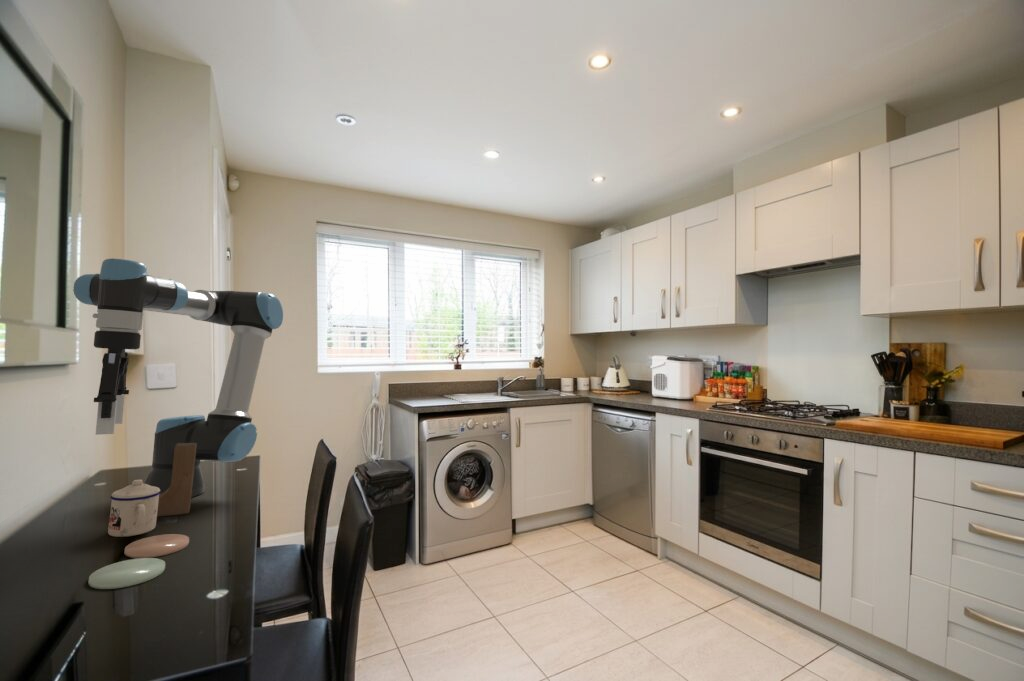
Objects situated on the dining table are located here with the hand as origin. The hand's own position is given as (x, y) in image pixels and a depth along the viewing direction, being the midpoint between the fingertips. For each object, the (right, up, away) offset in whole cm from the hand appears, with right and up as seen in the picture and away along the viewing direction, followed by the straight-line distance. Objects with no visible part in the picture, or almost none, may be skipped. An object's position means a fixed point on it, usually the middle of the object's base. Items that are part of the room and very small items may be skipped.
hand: (109, 428), depth 96 cm
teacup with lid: (-2, -26, +8) cm, 27 cm away
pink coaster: (+10, -26, +1) cm, 28 cm away
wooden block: (-4, -27, +21) cm, 34 cm away
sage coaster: (+14, -25, -12) cm, 31 cm away
